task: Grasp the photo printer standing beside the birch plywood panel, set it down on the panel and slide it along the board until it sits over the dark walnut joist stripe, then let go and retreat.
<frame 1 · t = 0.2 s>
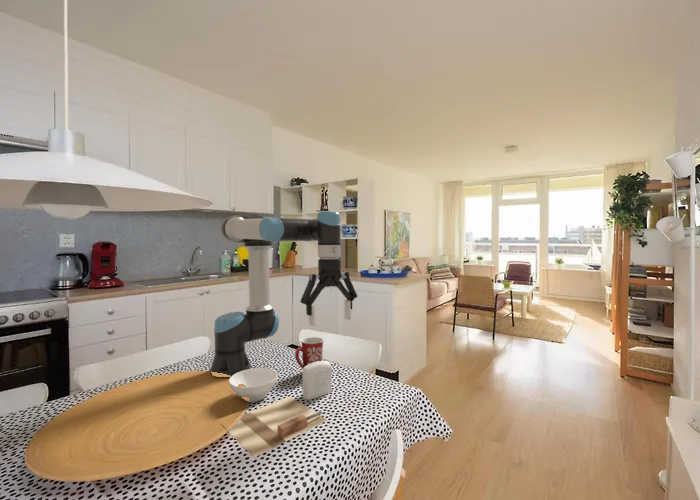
hand: (330, 322, 107), 26 cm above the table, fingers open, 13 cm apart
awl: (292, 429, 89), point 1 cm above the table, touching subfloor panel
subfloor panel: (274, 427, 93), on the table
photo printer: (317, 398, 110), on the table
mug: (309, 374, 130), on the table
bowl: (254, 397, 111), on the table
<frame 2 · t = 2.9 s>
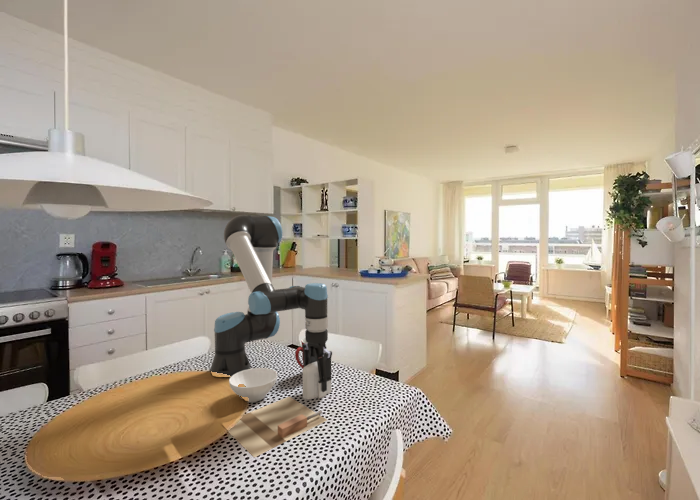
hand: (317, 397, 110), 0 cm above the table, fingers closed on photo printer, 5 cm apart
photo printer: (317, 398, 110), on the table, touching gripper
everything else where it was.
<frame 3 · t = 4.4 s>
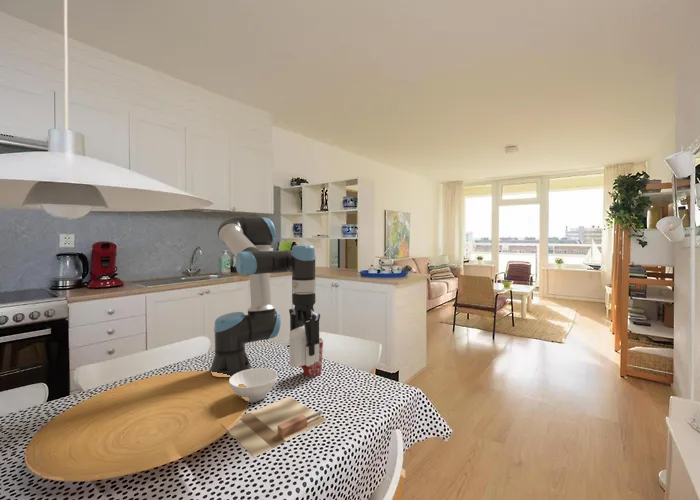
hand: (304, 362, 106), 14 cm above the table, fingers closed on photo printer, 5 cm apart
photo printer: (304, 364, 106), point 13 cm above the table, touching gripper
everything else where it was.
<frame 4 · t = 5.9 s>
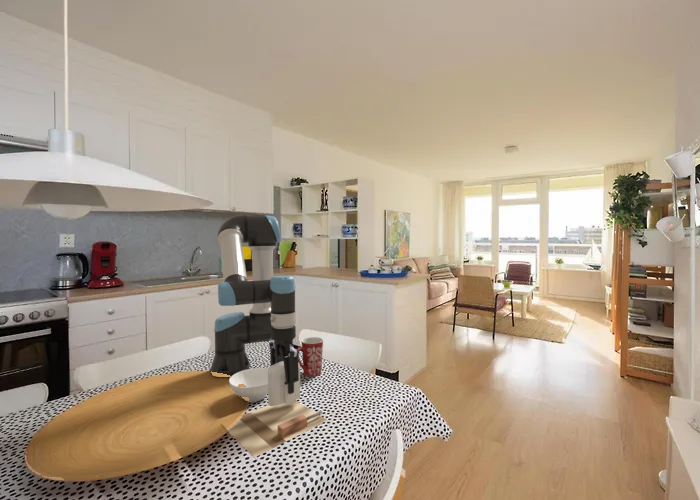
hand: (284, 399, 101), 4 cm above the table, fingers closed on photo printer, 5 cm apart
photo printer: (284, 401, 101), point 3 cm above the table, touching gripper
everything else where it was.
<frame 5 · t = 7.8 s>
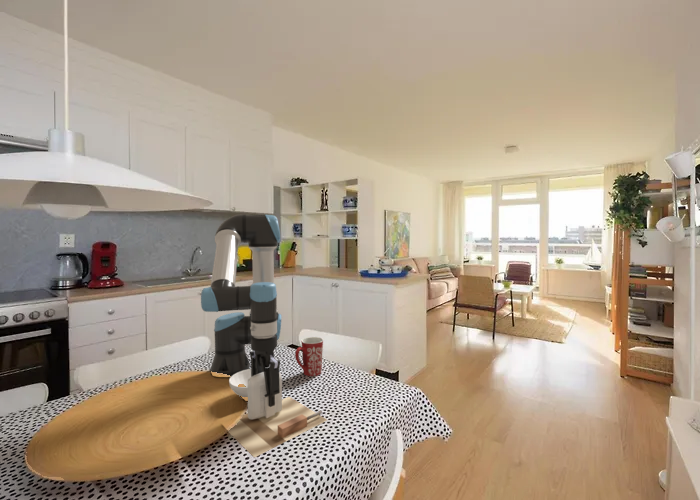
hand: (265, 412, 96), 3 cm above the table, fingers closed on photo printer, 5 cm apart
photo printer: (265, 414, 96), point 2 cm above the table, touching gripper
everything else where it was.
when the fingers open (2 cm above the table, at t = 9.1 s): photo printer stays where it is, resting on subfloor panel.
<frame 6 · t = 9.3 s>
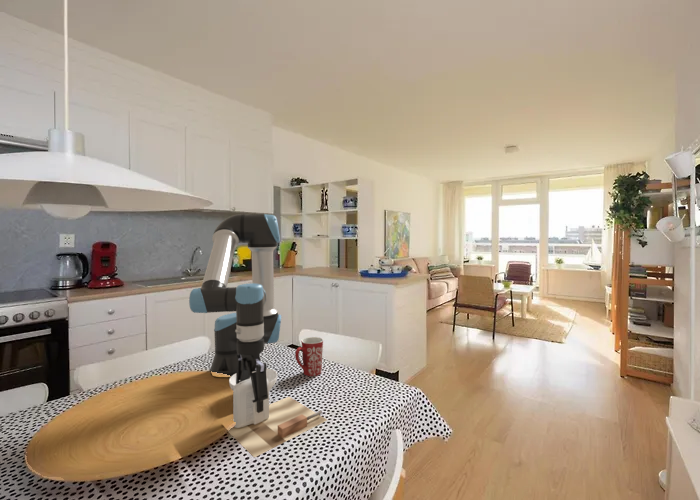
hand: (251, 416, 93), 3 cm above the table, fingers open, 7 cm apart
photo printer: (251, 421, 93), point 1 cm above the table, touching subfloor panel
everything else where it was.
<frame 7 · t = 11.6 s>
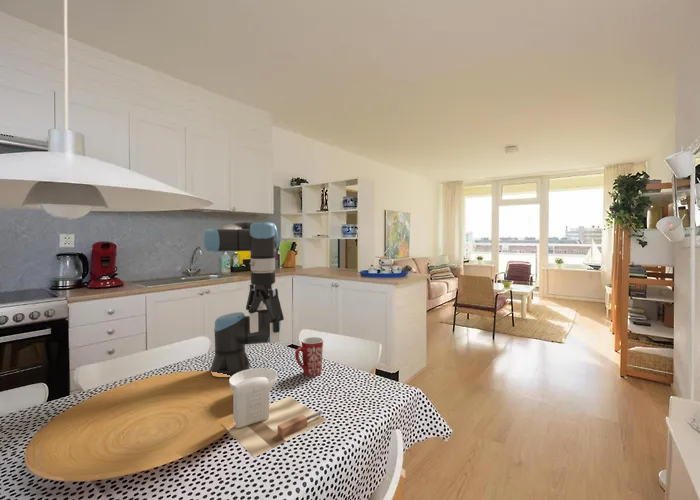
hand: (264, 337, 104), 23 cm above the table, fingers open, 13 cm apart
nothing on the table moved.
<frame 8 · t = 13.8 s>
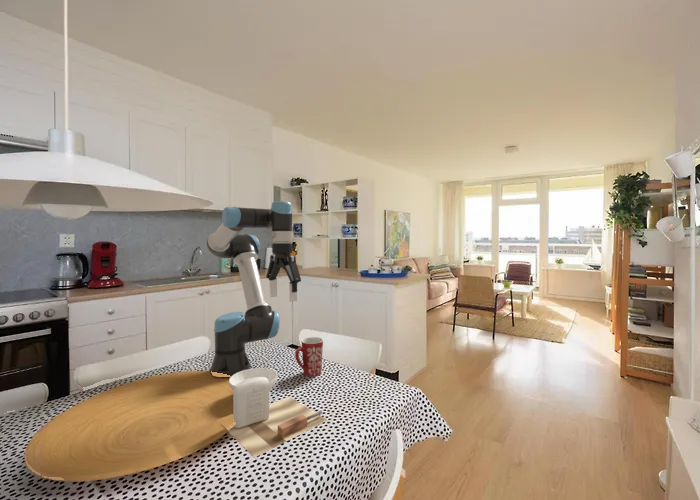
hand: (283, 298, 122), 32 cm above the table, fingers open, 13 cm apart
nothing on the table moved.
at the end: photo printer inside the target area (0.1 cm from its centre), point 1.3 cm above the table; photo printer tilted 0°; the gripper is holding nothing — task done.
